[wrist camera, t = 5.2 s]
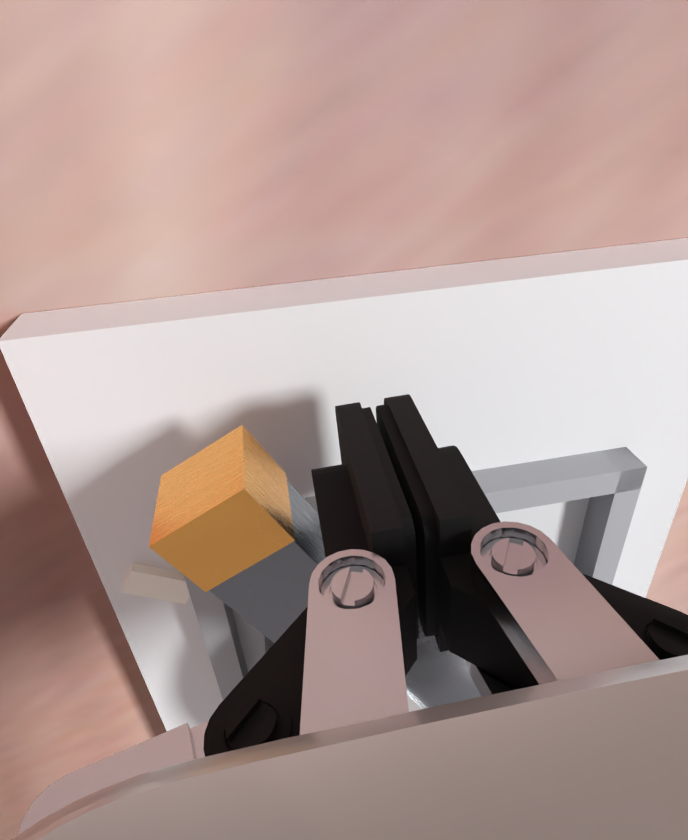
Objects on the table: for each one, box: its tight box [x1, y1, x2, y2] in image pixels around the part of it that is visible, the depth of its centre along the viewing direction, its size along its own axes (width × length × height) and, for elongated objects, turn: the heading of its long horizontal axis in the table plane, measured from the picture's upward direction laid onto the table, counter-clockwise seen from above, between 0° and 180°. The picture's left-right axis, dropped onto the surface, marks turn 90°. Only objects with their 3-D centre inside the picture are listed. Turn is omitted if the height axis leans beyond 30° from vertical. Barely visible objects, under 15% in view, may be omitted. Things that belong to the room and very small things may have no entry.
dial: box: [149, 425, 482, 712], centre depth 16 cm, size 16×10×4 cm, turn 31°
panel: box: [0, 238, 688, 731], centre depth 19 cm, size 18×24×3 cm
